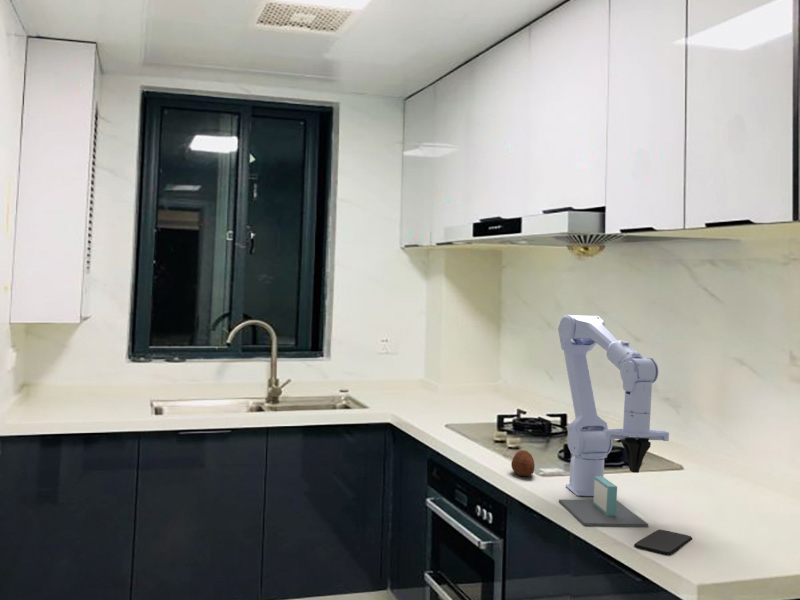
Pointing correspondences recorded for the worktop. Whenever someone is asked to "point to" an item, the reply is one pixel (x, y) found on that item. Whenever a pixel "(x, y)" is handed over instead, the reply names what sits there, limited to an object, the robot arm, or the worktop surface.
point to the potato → (523, 463)
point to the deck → (605, 495)
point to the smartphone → (663, 542)
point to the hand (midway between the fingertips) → (634, 471)
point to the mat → (602, 514)
